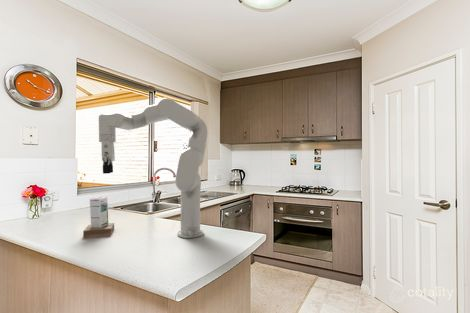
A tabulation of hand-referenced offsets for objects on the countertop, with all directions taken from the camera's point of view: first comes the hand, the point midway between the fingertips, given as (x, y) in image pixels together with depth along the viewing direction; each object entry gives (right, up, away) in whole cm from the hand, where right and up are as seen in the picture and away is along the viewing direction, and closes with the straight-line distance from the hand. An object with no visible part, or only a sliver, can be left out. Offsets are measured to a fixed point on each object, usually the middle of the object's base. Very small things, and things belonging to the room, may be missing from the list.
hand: (108, 173), depth 130 cm
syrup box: (-4, -27, 0) cm, 27 cm away
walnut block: (-4, -31, 0) cm, 31 cm away
